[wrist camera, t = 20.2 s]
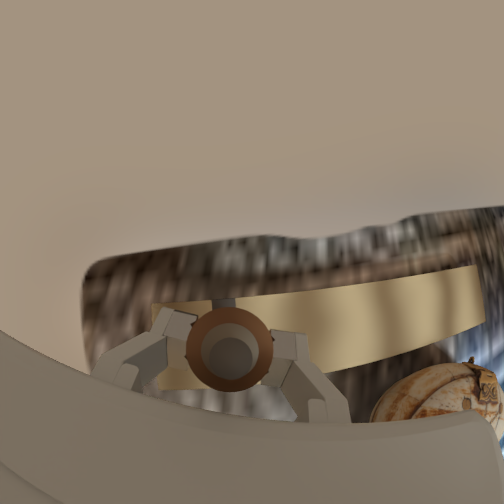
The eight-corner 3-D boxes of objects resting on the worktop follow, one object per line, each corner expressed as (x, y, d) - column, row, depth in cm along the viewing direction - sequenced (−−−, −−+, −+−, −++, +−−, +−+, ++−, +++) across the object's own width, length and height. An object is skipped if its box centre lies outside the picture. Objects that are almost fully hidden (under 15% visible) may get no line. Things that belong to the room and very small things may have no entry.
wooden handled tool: (250, 318, 17) (292, 281, 6) (255, 365, 16) (308, 414, 5) (202, 322, 17) (155, 293, 6) (207, 369, 16) (169, 427, 5)
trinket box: (472, 436, 18) (519, 446, 11) (365, 502, 16) (405, 539, 9) (466, 334, 22) (521, 325, 14) (351, 389, 20) (405, 407, 12)
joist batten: (461, 270, 24) (476, 264, 21) (469, 324, 22) (485, 321, 20) (159, 307, 20) (150, 303, 18) (166, 384, 19) (158, 390, 16)
